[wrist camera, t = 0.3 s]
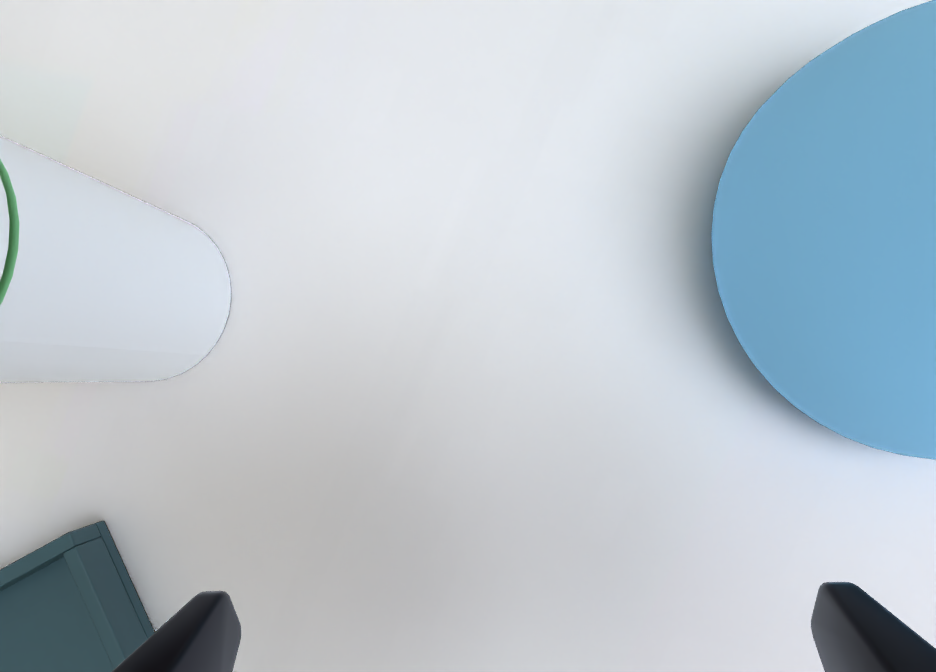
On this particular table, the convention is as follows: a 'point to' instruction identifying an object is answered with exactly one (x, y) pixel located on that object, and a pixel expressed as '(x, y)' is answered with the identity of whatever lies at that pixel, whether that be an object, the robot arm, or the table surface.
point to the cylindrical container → (99, 280)
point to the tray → (70, 607)
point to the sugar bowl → (842, 236)
